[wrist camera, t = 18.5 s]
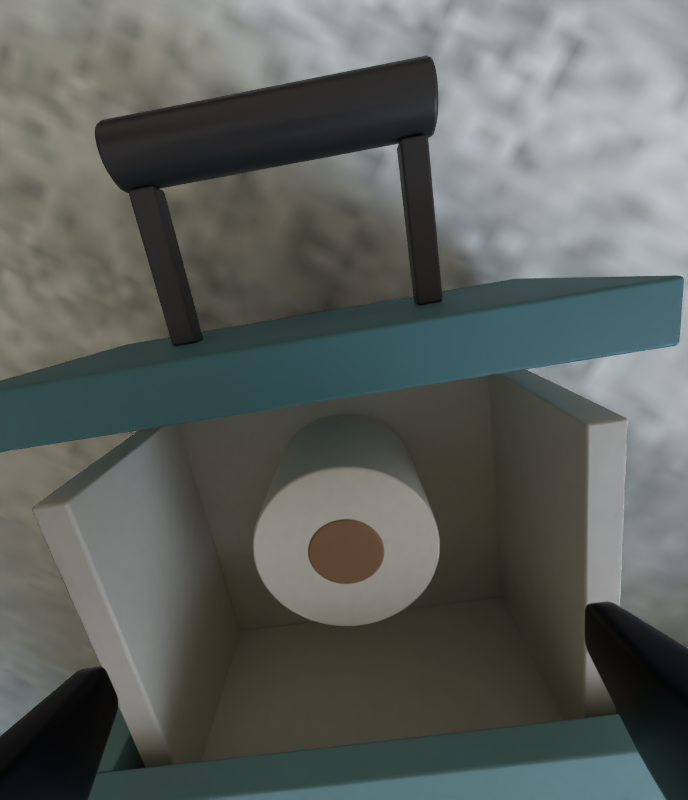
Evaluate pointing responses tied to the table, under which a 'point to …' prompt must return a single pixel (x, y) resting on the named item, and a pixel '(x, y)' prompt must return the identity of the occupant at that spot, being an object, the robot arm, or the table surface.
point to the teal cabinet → (402, 768)
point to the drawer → (317, 398)
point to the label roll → (346, 524)
